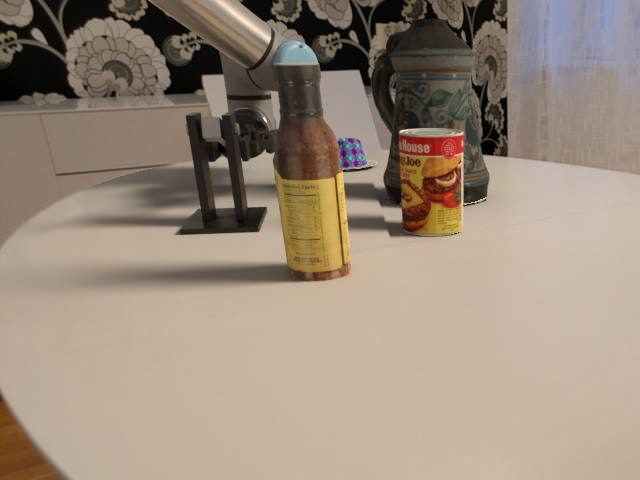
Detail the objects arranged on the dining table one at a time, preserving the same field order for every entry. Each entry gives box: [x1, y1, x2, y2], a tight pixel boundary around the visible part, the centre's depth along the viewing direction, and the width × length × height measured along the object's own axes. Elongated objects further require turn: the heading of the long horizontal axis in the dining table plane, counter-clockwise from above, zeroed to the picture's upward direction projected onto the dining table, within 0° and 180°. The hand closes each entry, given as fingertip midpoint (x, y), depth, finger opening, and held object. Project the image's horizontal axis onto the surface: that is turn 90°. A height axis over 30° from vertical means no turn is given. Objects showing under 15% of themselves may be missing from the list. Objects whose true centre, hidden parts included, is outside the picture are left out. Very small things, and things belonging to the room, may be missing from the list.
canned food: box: [399, 128, 464, 237], centre depth 84 cm, size 8×8×12 cm
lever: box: [200, 116, 242, 160], centre depth 88 cm, size 17×4×4 cm, turn 12°
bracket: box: [179, 111, 268, 236], centre depth 84 cm, size 12×9×14 cm
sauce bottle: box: [272, 62, 352, 282], centre depth 63 cm, size 6×6×20 cm
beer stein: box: [370, 18, 491, 204], centre depth 101 cm, size 16×19×25 cm
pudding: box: [336, 137, 378, 169], centre depth 131 cm, size 12×12×5 cm
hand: (227, 151), depth 90 cm, fingers closed on lever, 4 cm apart
